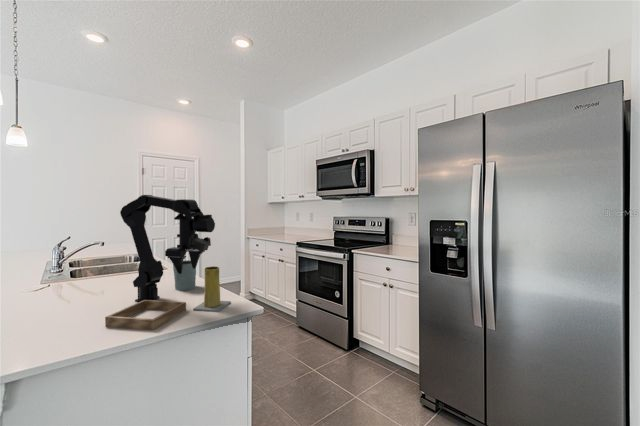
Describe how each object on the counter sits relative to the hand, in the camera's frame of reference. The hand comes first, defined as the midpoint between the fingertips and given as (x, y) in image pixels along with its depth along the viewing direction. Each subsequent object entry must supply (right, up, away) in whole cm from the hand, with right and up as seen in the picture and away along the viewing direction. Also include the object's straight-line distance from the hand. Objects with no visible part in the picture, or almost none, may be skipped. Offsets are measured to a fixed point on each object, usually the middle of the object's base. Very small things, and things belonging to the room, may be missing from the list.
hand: (187, 270), depth 117 cm
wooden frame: (-7, -13, -15) cm, 21 cm away
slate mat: (+11, -13, -3) cm, 17 cm away
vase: (+11, -13, -3) cm, 17 cm away
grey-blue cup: (-11, -12, +21) cm, 27 cm away
